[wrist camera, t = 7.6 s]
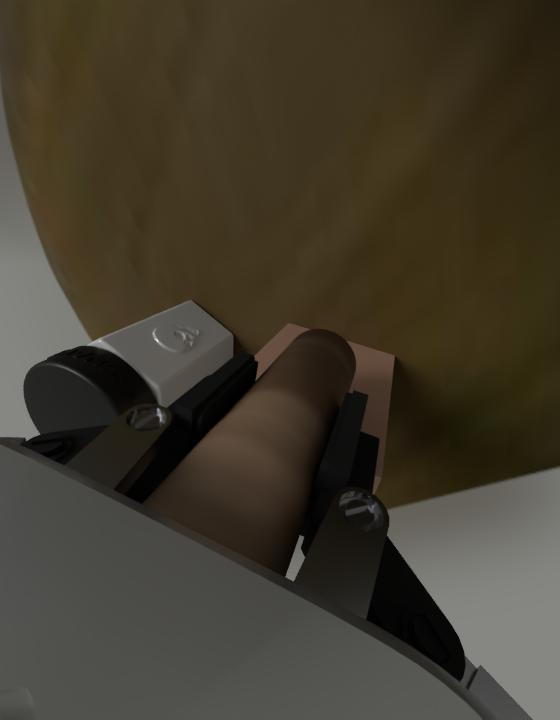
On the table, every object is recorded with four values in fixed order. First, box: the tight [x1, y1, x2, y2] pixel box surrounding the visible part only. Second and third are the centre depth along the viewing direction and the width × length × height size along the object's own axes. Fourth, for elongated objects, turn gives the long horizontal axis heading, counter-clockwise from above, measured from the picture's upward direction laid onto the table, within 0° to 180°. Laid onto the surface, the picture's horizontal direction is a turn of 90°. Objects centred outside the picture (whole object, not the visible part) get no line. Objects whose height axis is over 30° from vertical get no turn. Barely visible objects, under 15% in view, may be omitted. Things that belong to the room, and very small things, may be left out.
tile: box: [254, 323, 395, 494], centre depth 19 cm, size 2×8×12 cm, turn 79°
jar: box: [24, 301, 233, 434], centre depth 23 cm, size 9×8×12 cm
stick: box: [142, 329, 356, 577], centre depth 10 cm, size 3×3×12 cm
